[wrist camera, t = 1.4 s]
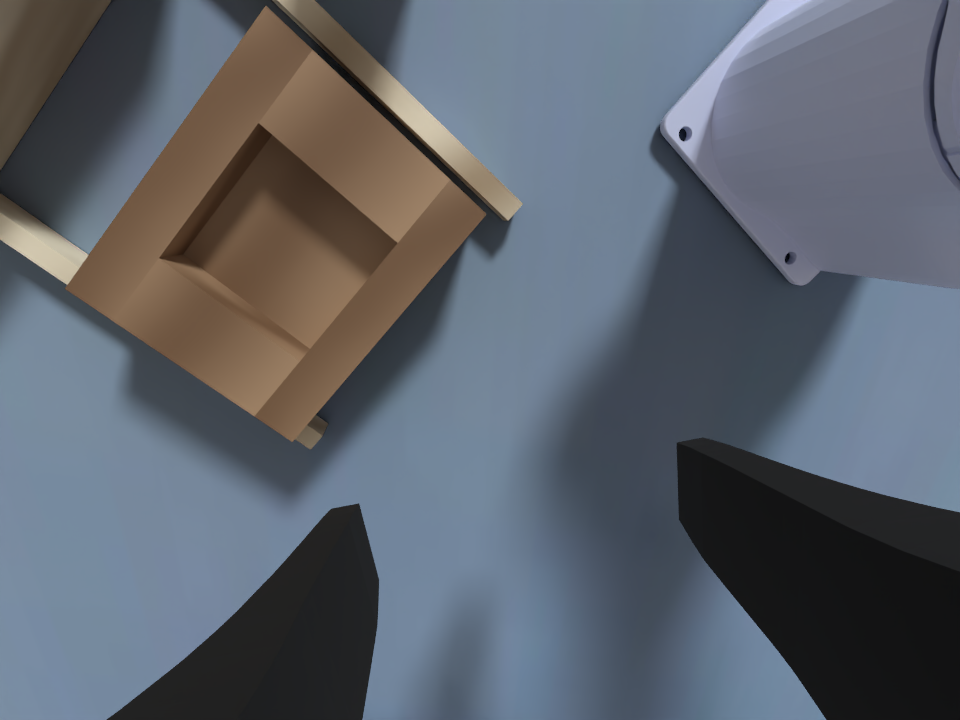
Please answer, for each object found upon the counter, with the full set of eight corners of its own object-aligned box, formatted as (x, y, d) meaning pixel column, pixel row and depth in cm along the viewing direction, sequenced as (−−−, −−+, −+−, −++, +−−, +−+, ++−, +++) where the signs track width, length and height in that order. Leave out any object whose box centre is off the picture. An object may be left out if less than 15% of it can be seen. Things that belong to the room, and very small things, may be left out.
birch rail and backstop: (518, 202, 19) (550, 197, 14) (315, 438, 21) (282, 504, 16) (129, -178, 14) (-17, -372, 10) (-83, 164, 16) (-293, 143, 12)
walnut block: (474, 214, 19) (486, 214, 15) (317, 399, 20) (292, 441, 16) (302, 54, 17) (265, 5, 13) (141, 273, 18) (64, 288, 14)
